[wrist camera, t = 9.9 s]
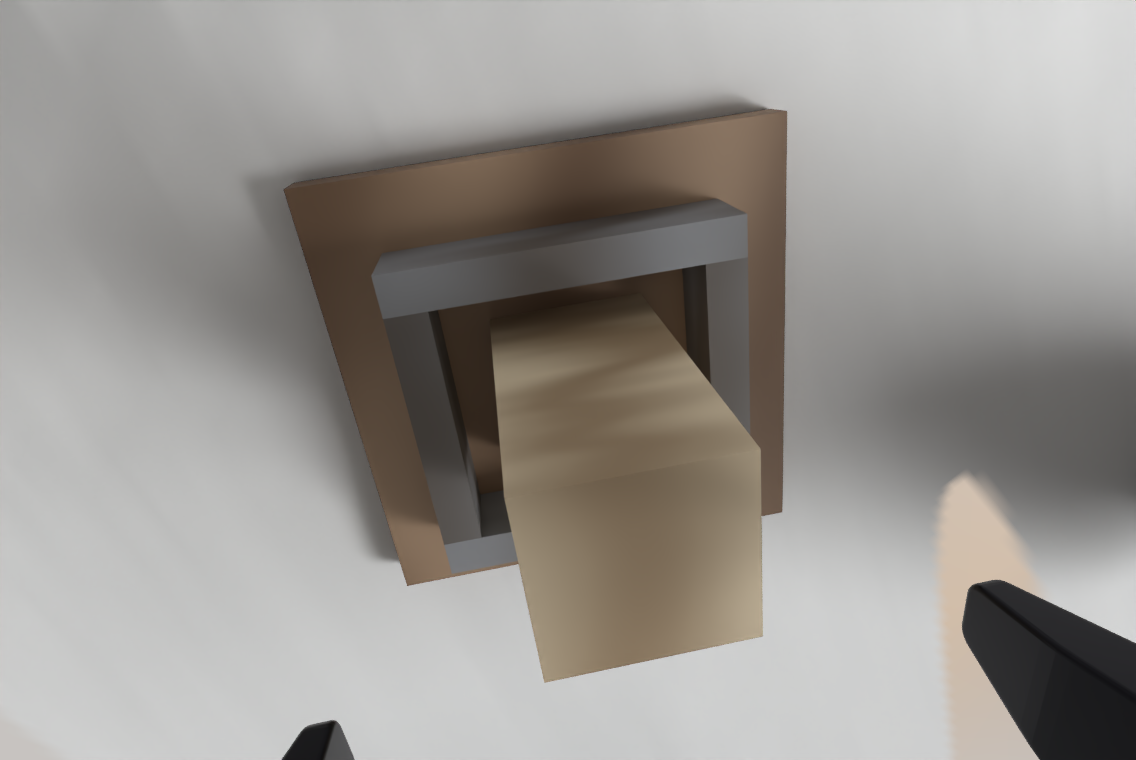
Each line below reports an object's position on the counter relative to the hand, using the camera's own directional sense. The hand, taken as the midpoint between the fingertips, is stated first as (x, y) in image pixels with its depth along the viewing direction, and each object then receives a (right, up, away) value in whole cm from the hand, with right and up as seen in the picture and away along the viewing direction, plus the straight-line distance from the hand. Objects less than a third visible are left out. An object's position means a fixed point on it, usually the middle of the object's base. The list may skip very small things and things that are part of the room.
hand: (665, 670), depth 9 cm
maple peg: (-1, +4, +9) cm, 10 cm away
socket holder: (-1, +5, +10) cm, 11 cm away
